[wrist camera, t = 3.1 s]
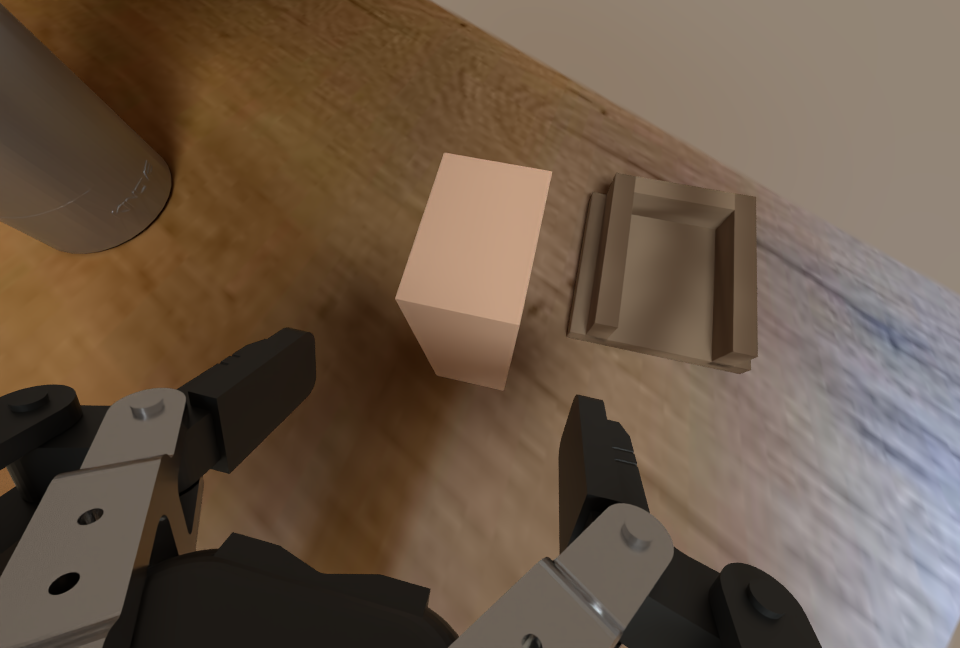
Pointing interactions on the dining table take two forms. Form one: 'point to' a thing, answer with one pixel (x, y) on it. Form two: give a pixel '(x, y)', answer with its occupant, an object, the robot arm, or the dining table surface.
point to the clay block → (473, 266)
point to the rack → (669, 273)
